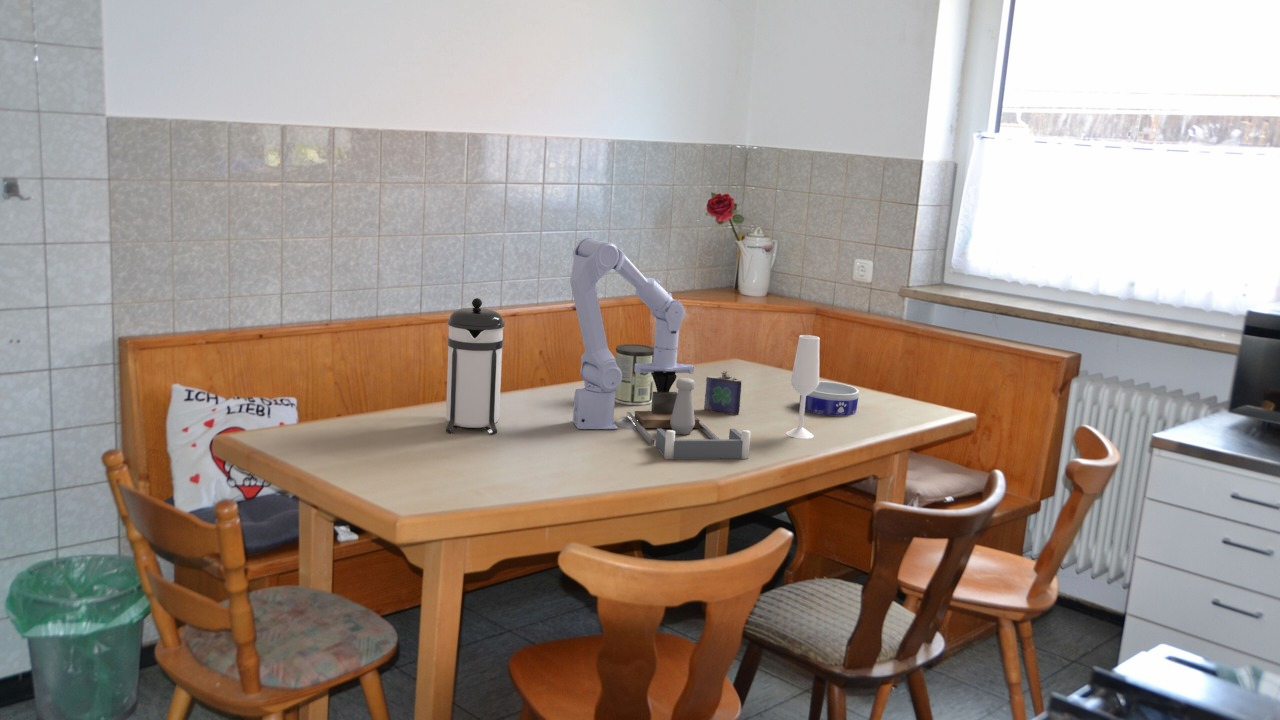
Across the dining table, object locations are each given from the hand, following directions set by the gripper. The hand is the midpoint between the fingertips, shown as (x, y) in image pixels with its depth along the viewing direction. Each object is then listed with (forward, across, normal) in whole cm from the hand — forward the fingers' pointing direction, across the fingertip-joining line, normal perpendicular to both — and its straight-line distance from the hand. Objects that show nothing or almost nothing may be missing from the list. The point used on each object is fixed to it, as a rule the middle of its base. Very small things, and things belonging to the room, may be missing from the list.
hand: (661, 401), depth 269 cm
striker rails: (+4, 0, -10) cm, 11 cm away
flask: (+5, +18, +7) cm, 20 cm away
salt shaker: (+5, +2, -12) cm, 13 cm away
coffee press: (+5, -47, -7) cm, 48 cm away
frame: (+4, +2, -28) cm, 28 cm away
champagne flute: (+5, +31, -14) cm, 34 cm away
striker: (+4, 0, -5) cm, 7 cm away
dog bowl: (+5, +49, +11) cm, 50 cm away
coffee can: (+5, -3, +18) cm, 19 cm away
